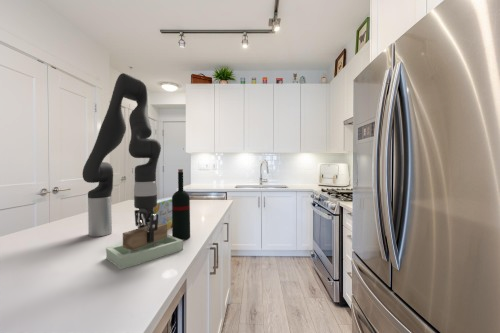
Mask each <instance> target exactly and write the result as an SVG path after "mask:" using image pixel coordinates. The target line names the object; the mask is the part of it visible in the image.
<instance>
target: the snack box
mask: <svg viewBox="0 0 500 333" xmlns="http://www.w3.org/2000/svg"><path fill="white" fill-rule="evenodd" d="M153 211H154V214H158V223H163V224H167V231H168V230H170V229H172V196H167V197H162V198H159V199H157V206H156V207H154V208H153ZM148 223H150V222H148Z"/></svg>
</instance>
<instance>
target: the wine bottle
mask: <svg viewBox="0 0 500 333" xmlns="http://www.w3.org/2000/svg"><path fill="white" fill-rule="evenodd" d="M177 170H178V171H177V185H178V186H177V191H175V192H174V193H173V194H172V196H171V197H172V228H171V231H172V232H171V234H172V235H171V236H173V237H175V238H178V239H181V240H183V241H186V240H188V239H190V238H191V199H190V198H191V197H190V195H189V193H188V192H187V191H185V190H184V169H182V168H181V169H180V168H179V169H177Z"/></svg>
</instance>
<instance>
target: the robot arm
mask: <svg viewBox="0 0 500 333" xmlns="http://www.w3.org/2000/svg"><path fill="white" fill-rule="evenodd" d="M148 96H149V94H148V87H147V84H146V82H144V81H143V80H141V79H139V78H137V77H135V76H132V75H130V74H127V73H123V72H122V73H120V74H119V75H118V77H117V79H116V80H115V83H114V87H113V91H112V95H111V98H110V101H109V105H108V108H107V111H106V113H105V115H104V118H103V121H102V123H101V126H100V128H99V132H98V134H97V137H96V139H95V143H94V146H93V148H92V150H91V152H90V153H89V155H88V158H87V159H86V161H85V164H84V166H83V169H82V179H83V180H84V182H85V183H92V184H93V183H98V185H97V186H96V187H94V188H93V189H90V190H89V191H88V192H87V218H88V219H87V220H88V221H87V223H88V224H87V225H88V226H87V227H88V229H87V230H88V237H92V238H93V237H95V238H96V237H104V236H107V235H110V234H112V233H113V225H112V224H113V223H112V222H113V220H112V218H113V216H112V215H113V214H112V212H113V211H112V209H113V208H112V207H113V206H112V192H113V188H114V187H113V186H114V168H113V166H112V164H111V163H109V162H106V161H104V159H105V158H106V157H107V156H109V154H110V153H111V152H112V151H114V150H115V149H117V147H119V145H120V144H121V143H122V141H123V140H124V139H123V138H124V136H125V134H126V132H127V127H126V126H127V124H126V121H125V119H124V118H125V117H124V114H123V110H122V103H123V99H127V100H130V101H134V102H136V104H137V105H136V106H135V108H134V109H132V111H131V112H130V115H129V118H128V120H129V128H130V140H129V144H128V153H129V154H130V156H131V157H133V158H135V159H148V161H147V162H145V163H143V164H138V165H136V166H135V168H134V185H133V186H134V187H133V202H134V204H133V206H134V208H135V210H134V221H135V222H134V223H135V227H137V229H138V228H142V227H146V230H147V242H148V243H151V242H153V241H154V231H156V230H157V229H158V214H154V211H153V208H154V207H156V206H157V200H158V192H157V191H158V188H157V168H158V162H159V158H160V155H161V150H162V146H161V143H160V141H159V140H158V139H156V138H150V137H151V136H152V134H153V133H152V132H153V131H152V128H151V123H150V118H149V117H150V116H149V105H148V103H149V102H148ZM148 222H150V223H148ZM154 225H155V227H154Z"/></svg>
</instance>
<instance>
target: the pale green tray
mask: <svg viewBox="0 0 500 333" xmlns="http://www.w3.org/2000/svg"><path fill="white" fill-rule="evenodd" d="M105 250H106V251H105V252H106V254H105V255H106V256H105V257H106V260H108V261H109V262H111V263H112V264H114V265H115V266H116V267H118V268H119V269H120V270H124V269H126V268H127V269H128V268H130V267H133V266H137V265H140V264H143V263H145V262H149V261H151V260H155V259H158V258H161V257H165V256H167V255H170V254H174V253H177V252H180V251H183V250H184V240H181V239H178V238H175V237H173V236H172V235H170V234H168V233H167V237H166V238H163V239H161V240H158V241H156V242H153V243H150V244H148V245H145V246H142V247H140V248H137V249H135V250H130V249H126V248H123V243H122V244H118V245H114V246H110V247H107V248H105Z"/></svg>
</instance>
